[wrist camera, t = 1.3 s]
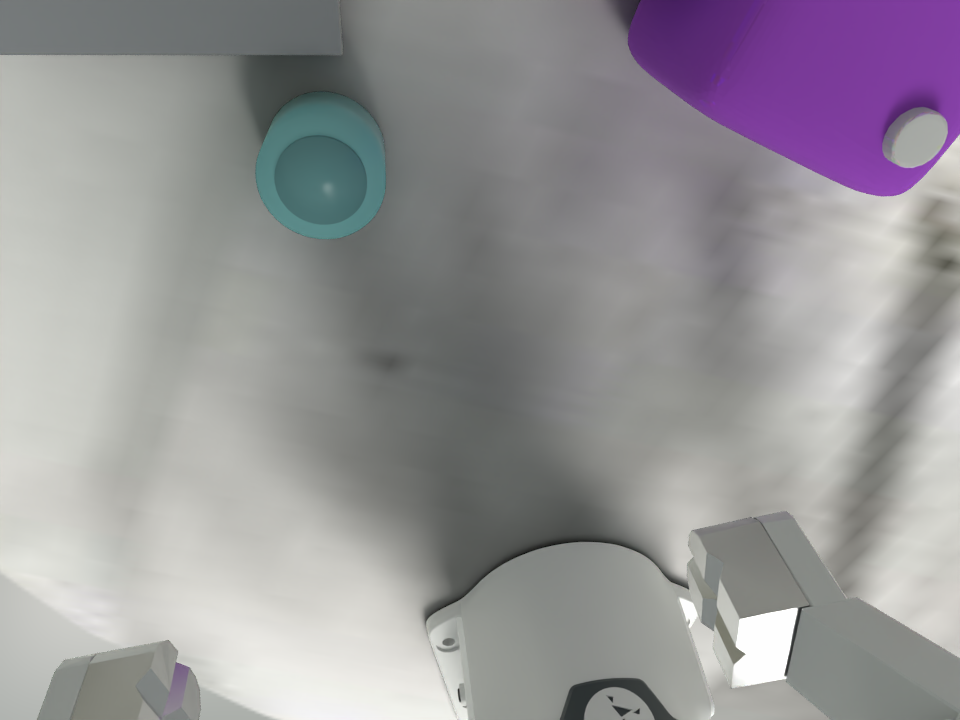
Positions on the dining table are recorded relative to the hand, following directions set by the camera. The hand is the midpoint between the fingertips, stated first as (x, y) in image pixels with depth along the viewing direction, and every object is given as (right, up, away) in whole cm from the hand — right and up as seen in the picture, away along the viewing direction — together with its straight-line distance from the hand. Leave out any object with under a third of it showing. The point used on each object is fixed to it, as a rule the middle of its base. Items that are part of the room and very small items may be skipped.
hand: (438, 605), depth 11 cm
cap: (-6, +13, +19) cm, 23 cm away
